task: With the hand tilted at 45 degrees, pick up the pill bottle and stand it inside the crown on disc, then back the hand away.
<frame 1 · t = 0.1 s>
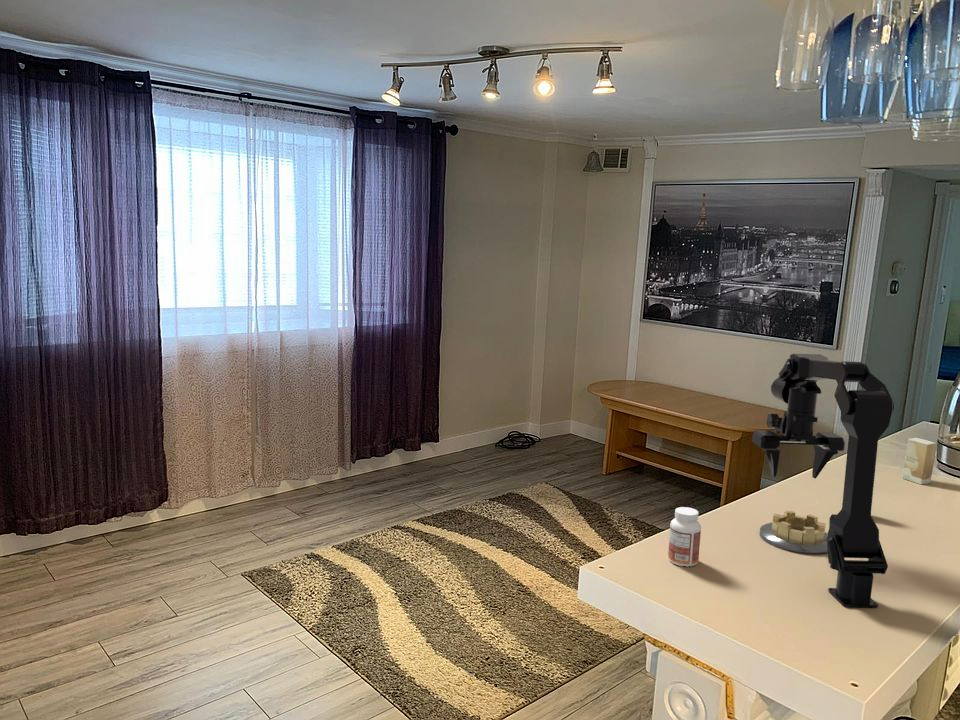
hand: (793, 477, 163), 15 cm above the kitchen counter, tool pointing down, fingers open, 9 cm apart
crown on disc: (796, 539, 165), on the kitchen counter
skincare box: (916, 481, 212), on the kitchen counter
pill bottle: (682, 562, 152), on the kitchen counter
supplement bottle: (857, 515, 182), on the kitchen counter
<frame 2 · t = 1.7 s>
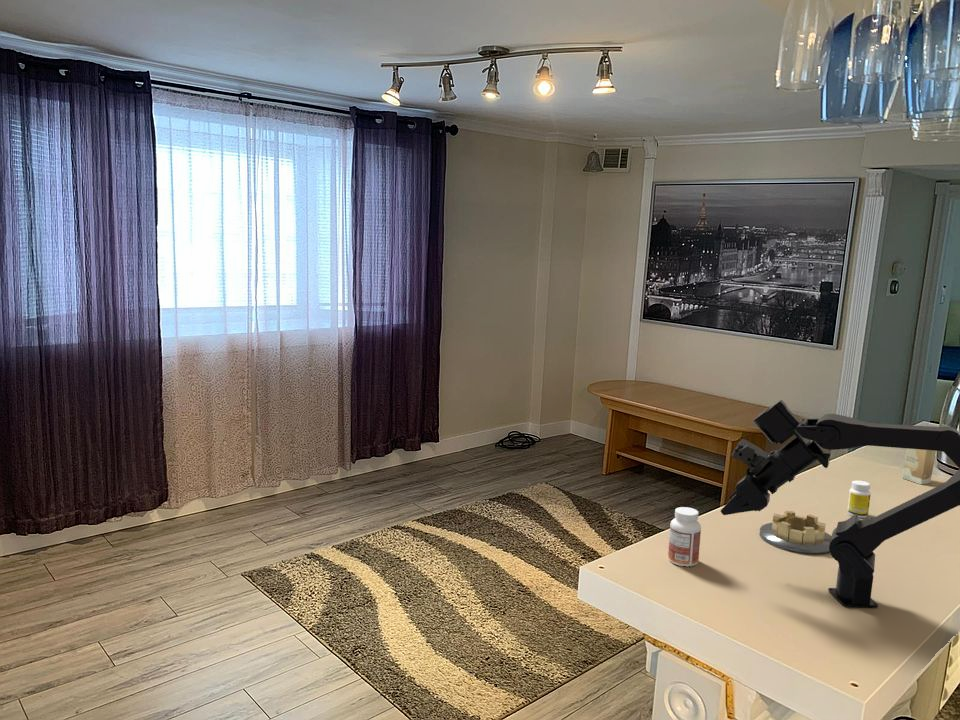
hand: (726, 506, 147), 13 cm above the kitchen counter, tool tilted 45°, fingers open, 9 cm apart
nothing on the kitchen counter moved.
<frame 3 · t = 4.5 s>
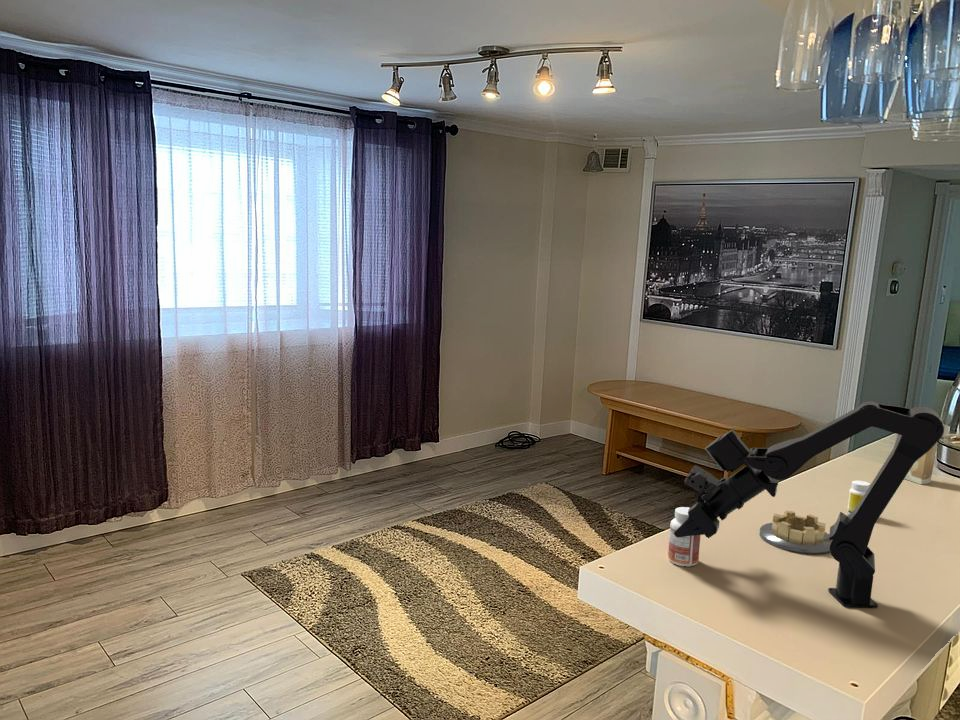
hand: (678, 529, 151), 7 cm above the kitchen counter, tool tilted 45°, fingers closed on pill bottle, 6 cm apart
pill bottle: (682, 562, 152), on the kitchen counter, touching gripper
everything else where it was.
when the fingers open (9 cm above the kitchen counter, at t = 10.2 s): pill bottle drops 2 cm, resting on crown on disc.
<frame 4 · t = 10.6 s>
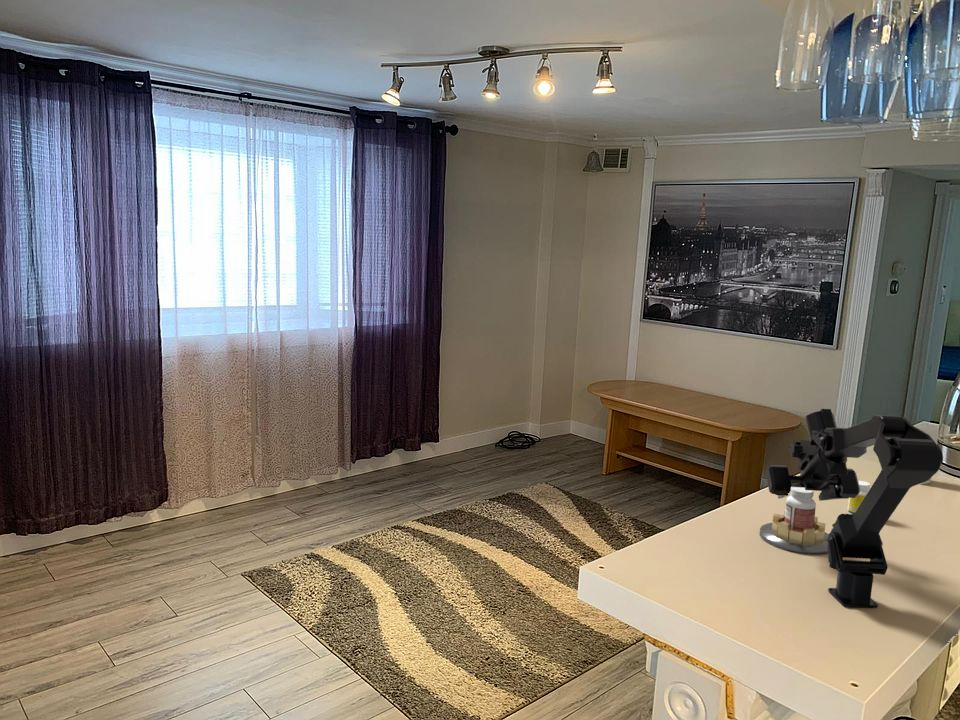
hand: (799, 497, 165), 10 cm above the kitchen counter, tool tilted 45°, fingers open, 9 cm apart
pill bottle: (797, 536, 165), point 1 cm above the kitchen counter, touching crown on disc
everything else where it was.
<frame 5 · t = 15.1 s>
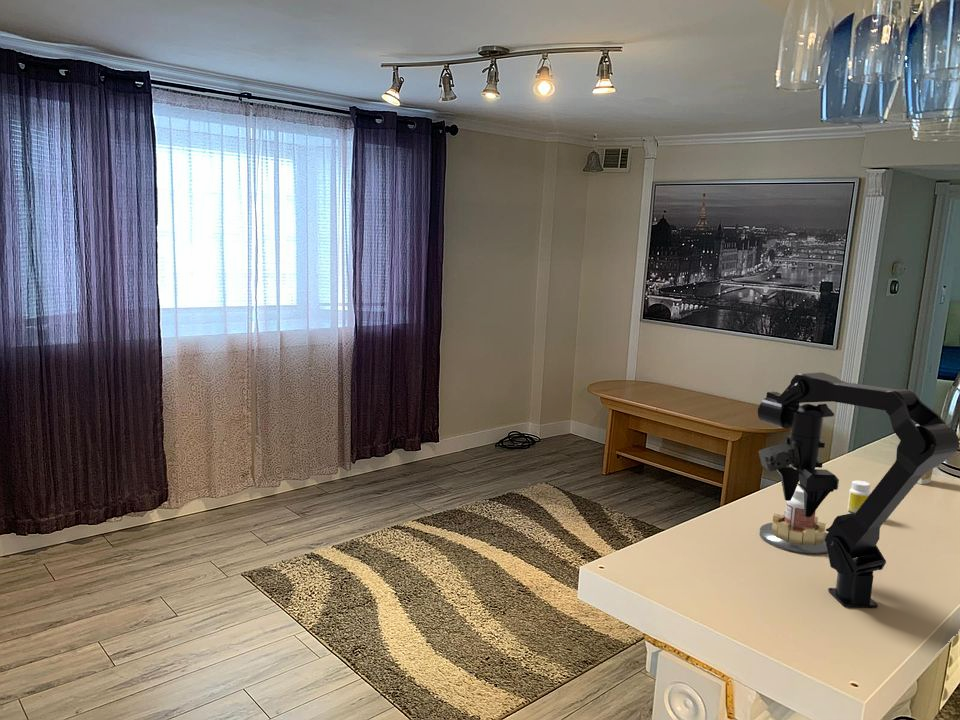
hand: (797, 508, 148), 13 cm above the kitchen counter, tool pointing down, fingers open, 9 cm apart
nothing on the kitchen counter moved.
at the end: pill bottle 0.1 cm from the crown on disc (horizontally); pill bottle tilted 0°; the gripper is holding nothing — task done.
